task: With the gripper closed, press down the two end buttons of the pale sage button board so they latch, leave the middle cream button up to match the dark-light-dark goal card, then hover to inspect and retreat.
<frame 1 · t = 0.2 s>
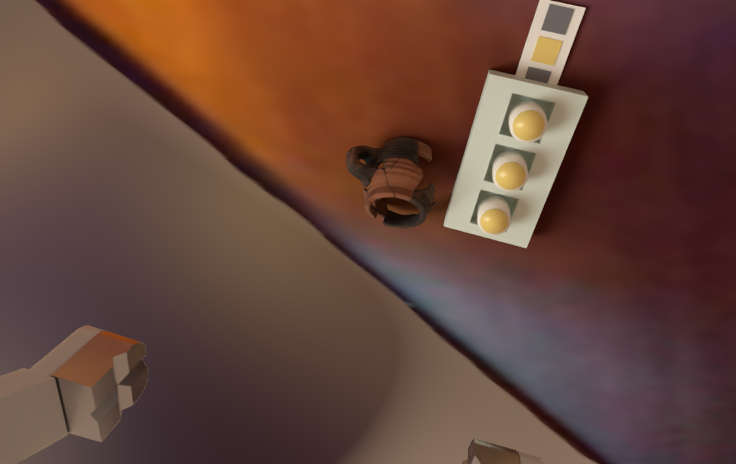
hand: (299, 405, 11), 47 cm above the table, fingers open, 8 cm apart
goal card: (545, 50, 49), on the table
button board: (508, 158, 55), on the table
button b: (509, 171, 51), point 4 cm above the table, slide at 0.0 cm
button a: (527, 121, 48), point 4 cm above the table, slide at 0.0 cm
pottery mug: (396, 169, 59), on the table
button c: (493, 215, 54), point 4 cm above the table, slide at 0.0 cm
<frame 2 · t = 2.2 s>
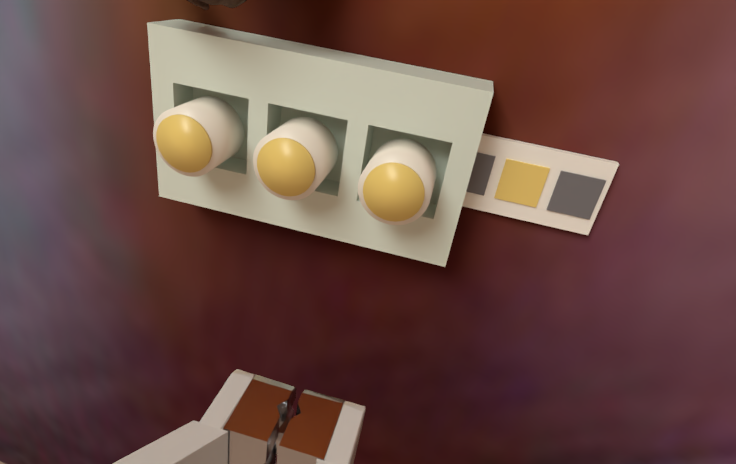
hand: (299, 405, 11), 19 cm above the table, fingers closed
goal card: (520, 180, 27), on the table
button board: (320, 136, 29), on the table
button b: (296, 158, 25), point 4 cm above the table, slide at 0.0 cm
button a: (398, 181, 24), point 4 cm above the table, slide at 0.0 cm
button c: (199, 136, 26), point 4 cm above the table, slide at 0.0 cm
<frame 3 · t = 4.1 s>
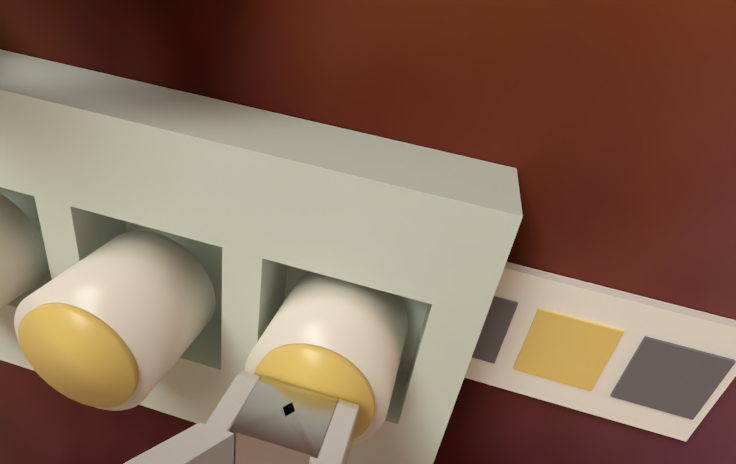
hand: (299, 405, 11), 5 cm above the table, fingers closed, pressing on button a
goal card: (563, 340, 15), on the table
button board: (205, 243, 16), on the table
button b: (121, 318, 12), point 4 cm above the table, slide at 0.0 cm
button a: (331, 353, 13), point 3 cm above the table, slide at 0.9 cm, touching gripper
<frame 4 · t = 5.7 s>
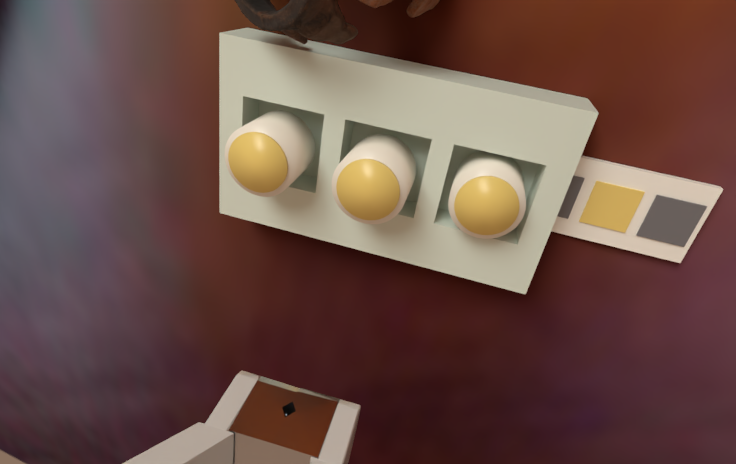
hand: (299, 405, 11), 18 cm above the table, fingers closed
goal card: (609, 203, 25), on the table
button board: (391, 152, 27), on the table
button b: (375, 178, 23), point 4 cm above the table, slide at 0.0 cm
button a: (487, 194, 24), point 3 cm above the table, slide at 1.5 cm
button c: (270, 153, 24), point 4 cm above the table, slide at 0.0 cm
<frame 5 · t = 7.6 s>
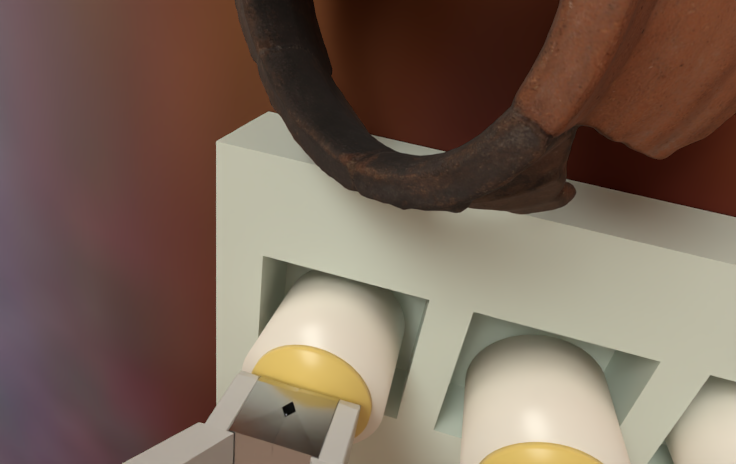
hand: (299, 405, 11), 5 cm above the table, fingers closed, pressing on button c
button board: (527, 327, 15), on the table
button b: (538, 437, 11), point 4 cm above the table, slide at 0.0 cm
button c: (328, 354, 13), point 4 cm above the table, slide at 0.7 cm, touching gripper
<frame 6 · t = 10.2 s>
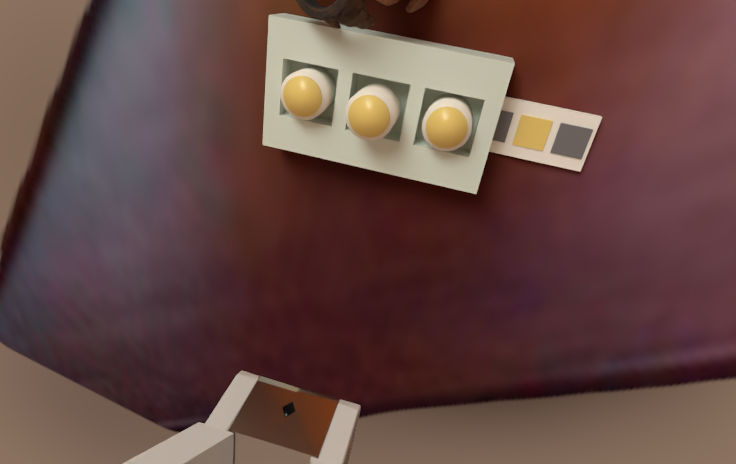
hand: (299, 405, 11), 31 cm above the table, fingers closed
goal card: (531, 131, 37), on the table
button board: (383, 99, 39), on the table
button b: (373, 111, 35), point 4 cm above the table, slide at 0.0 cm
button a: (447, 122, 36), point 3 cm above the table, slide at 1.5 cm
button c: (308, 92, 37), point 3 cm above the table, slide at 1.4 cm
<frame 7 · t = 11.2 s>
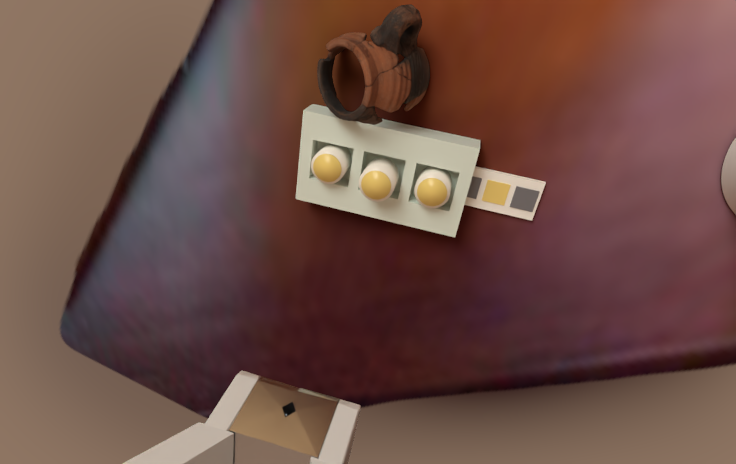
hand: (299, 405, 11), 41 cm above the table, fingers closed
goal card: (495, 191, 51), on the table
button board: (386, 166, 52), on the table
button b: (379, 179, 48), point 4 cm above the table, slide at 0.0 cm
button a: (433, 186, 49), point 3 cm above the table, slide at 1.5 cm
pottery mug: (386, 61, 47), on the table
button c: (331, 163, 50), point 3 cm above the table, slide at 1.4 cm
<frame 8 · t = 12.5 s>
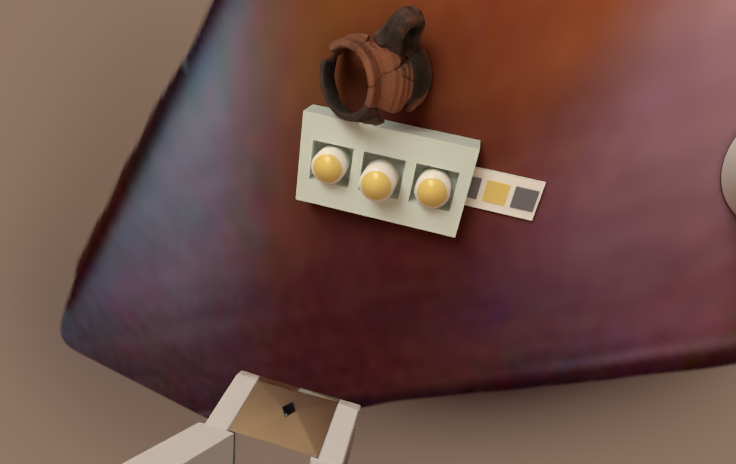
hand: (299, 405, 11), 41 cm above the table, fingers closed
goal card: (495, 191, 51), on the table
button board: (386, 166, 52), on the table
button b: (379, 180, 48), point 4 cm above the table, slide at 0.0 cm
button a: (433, 186, 49), point 3 cm above the table, slide at 1.5 cm
pottery mug: (388, 62, 47), on the table
button c: (331, 163, 50), point 3 cm above the table, slide at 1.4 cm
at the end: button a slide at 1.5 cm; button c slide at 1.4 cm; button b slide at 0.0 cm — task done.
